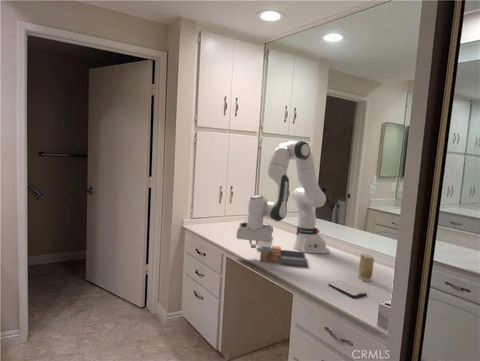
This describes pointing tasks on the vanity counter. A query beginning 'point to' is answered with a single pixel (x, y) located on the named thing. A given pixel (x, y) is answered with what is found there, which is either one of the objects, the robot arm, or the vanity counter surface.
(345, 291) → the phone case
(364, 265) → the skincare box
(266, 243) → the lidded jar
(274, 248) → the tile
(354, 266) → the vanity counter surface
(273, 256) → the cardboard box
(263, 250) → the tile
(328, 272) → the vanity counter surface
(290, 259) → the tray
